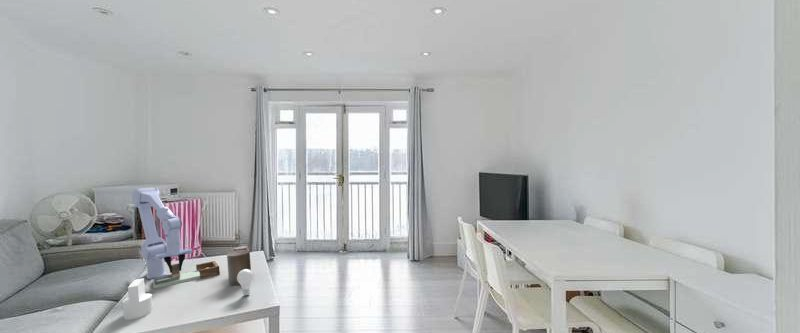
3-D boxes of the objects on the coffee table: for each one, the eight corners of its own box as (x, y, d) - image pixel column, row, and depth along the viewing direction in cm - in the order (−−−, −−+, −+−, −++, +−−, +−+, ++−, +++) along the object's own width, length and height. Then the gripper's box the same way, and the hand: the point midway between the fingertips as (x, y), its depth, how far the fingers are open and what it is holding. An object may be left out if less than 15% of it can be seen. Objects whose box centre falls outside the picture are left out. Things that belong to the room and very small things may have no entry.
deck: (152, 282, 166) (152, 279, 166) (198, 272, 178) (198, 270, 178) (153, 288, 158) (153, 285, 158) (201, 277, 170) (201, 275, 170)
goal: (196, 272, 178) (196, 264, 178) (215, 268, 183) (214, 260, 183) (200, 278, 169) (199, 270, 169) (219, 274, 174) (219, 266, 174)
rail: (154, 280, 166) (153, 277, 166) (177, 275, 171) (177, 272, 171) (154, 284, 160) (154, 282, 159) (179, 279, 165) (179, 277, 165)
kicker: (171, 276, 169) (170, 264, 169) (179, 275, 171) (178, 262, 170) (172, 279, 165) (171, 266, 165) (180, 277, 167) (179, 265, 166)
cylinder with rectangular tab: (127, 311, 136) (125, 280, 135) (155, 306, 139) (153, 276, 139) (120, 321, 127) (117, 289, 127) (149, 316, 131) (147, 284, 130)
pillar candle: (256, 279, 164) (254, 248, 164) (236, 287, 156) (234, 253, 155) (243, 276, 169) (241, 246, 169) (224, 283, 161) (221, 251, 161)
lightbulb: (238, 299, 142) (236, 273, 142) (237, 294, 148) (236, 268, 147) (255, 296, 145) (253, 270, 145) (254, 291, 151) (252, 265, 150)
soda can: (244, 275, 171) (243, 249, 170) (231, 275, 172) (229, 249, 171) (253, 270, 178) (252, 245, 177) (241, 270, 179) (239, 245, 178)
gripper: (155, 247, 159) (157, 277, 160) (192, 241, 168) (194, 269, 169) (154, 244, 165) (156, 273, 166) (190, 239, 174) (192, 266, 174)
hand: (175, 271), depth 168 cm, fingers closed on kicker, 3 cm apart
